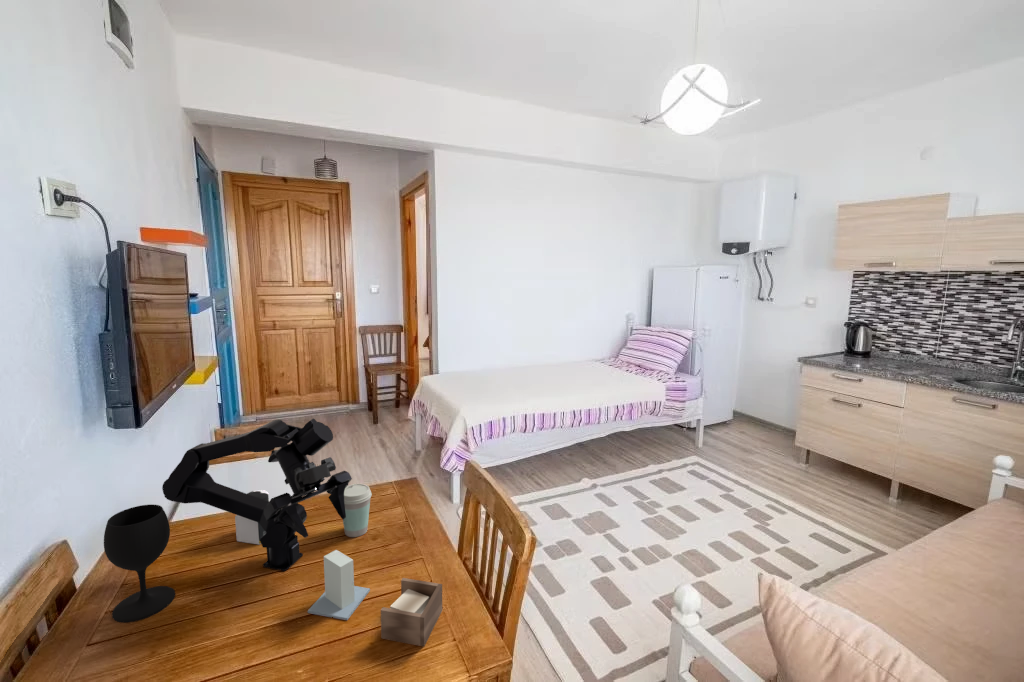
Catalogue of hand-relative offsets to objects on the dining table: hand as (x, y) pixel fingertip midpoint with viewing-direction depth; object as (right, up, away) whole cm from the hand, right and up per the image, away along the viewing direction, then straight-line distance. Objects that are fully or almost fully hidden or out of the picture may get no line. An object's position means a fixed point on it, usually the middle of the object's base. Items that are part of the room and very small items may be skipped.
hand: (326, 527), depth 100 cm
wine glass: (-36, -14, -6) cm, 39 cm away
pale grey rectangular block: (+4, -14, -4) cm, 15 cm away
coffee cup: (-1, -11, +23) cm, 25 cm away
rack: (+21, -15, -9) cm, 28 cm away
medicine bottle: (-26, -11, +20) cm, 35 cm away
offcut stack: (+21, -16, -9) cm, 27 cm away
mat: (+4, -14, -4) cm, 15 cm away
